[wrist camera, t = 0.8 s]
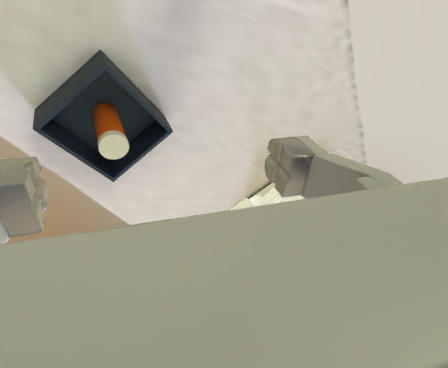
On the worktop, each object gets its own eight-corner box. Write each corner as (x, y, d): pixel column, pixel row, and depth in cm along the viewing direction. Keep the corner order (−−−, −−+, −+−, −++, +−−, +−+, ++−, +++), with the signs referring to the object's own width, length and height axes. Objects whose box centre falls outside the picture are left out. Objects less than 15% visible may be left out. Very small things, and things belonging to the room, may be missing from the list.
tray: (333, 188, 89) (341, 196, 86) (255, 239, 92) (260, 249, 89) (318, 145, 74) (327, 153, 72) (225, 208, 77) (231, 218, 74)
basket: (34, 109, 44) (32, 129, 40) (100, 49, 43) (105, 63, 38) (109, 162, 54) (113, 182, 50) (164, 115, 53) (173, 131, 49)
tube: (86, 113, 47) (91, 148, 40) (104, 97, 46) (113, 129, 39) (106, 129, 50) (114, 164, 43) (123, 114, 49) (135, 146, 42)
